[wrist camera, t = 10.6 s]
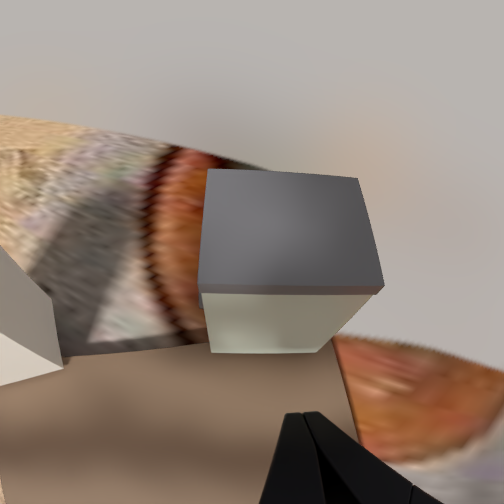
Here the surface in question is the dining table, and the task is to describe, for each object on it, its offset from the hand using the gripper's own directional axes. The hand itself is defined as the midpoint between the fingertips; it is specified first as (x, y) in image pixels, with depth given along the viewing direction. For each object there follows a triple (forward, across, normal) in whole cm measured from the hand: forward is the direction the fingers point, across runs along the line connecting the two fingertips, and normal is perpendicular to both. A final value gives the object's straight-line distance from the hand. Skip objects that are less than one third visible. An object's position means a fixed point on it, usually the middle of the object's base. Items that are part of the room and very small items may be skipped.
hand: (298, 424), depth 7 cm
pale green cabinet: (+9, 0, +1) cm, 9 cm away
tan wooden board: (+5, +5, +7) cm, 10 cm away
